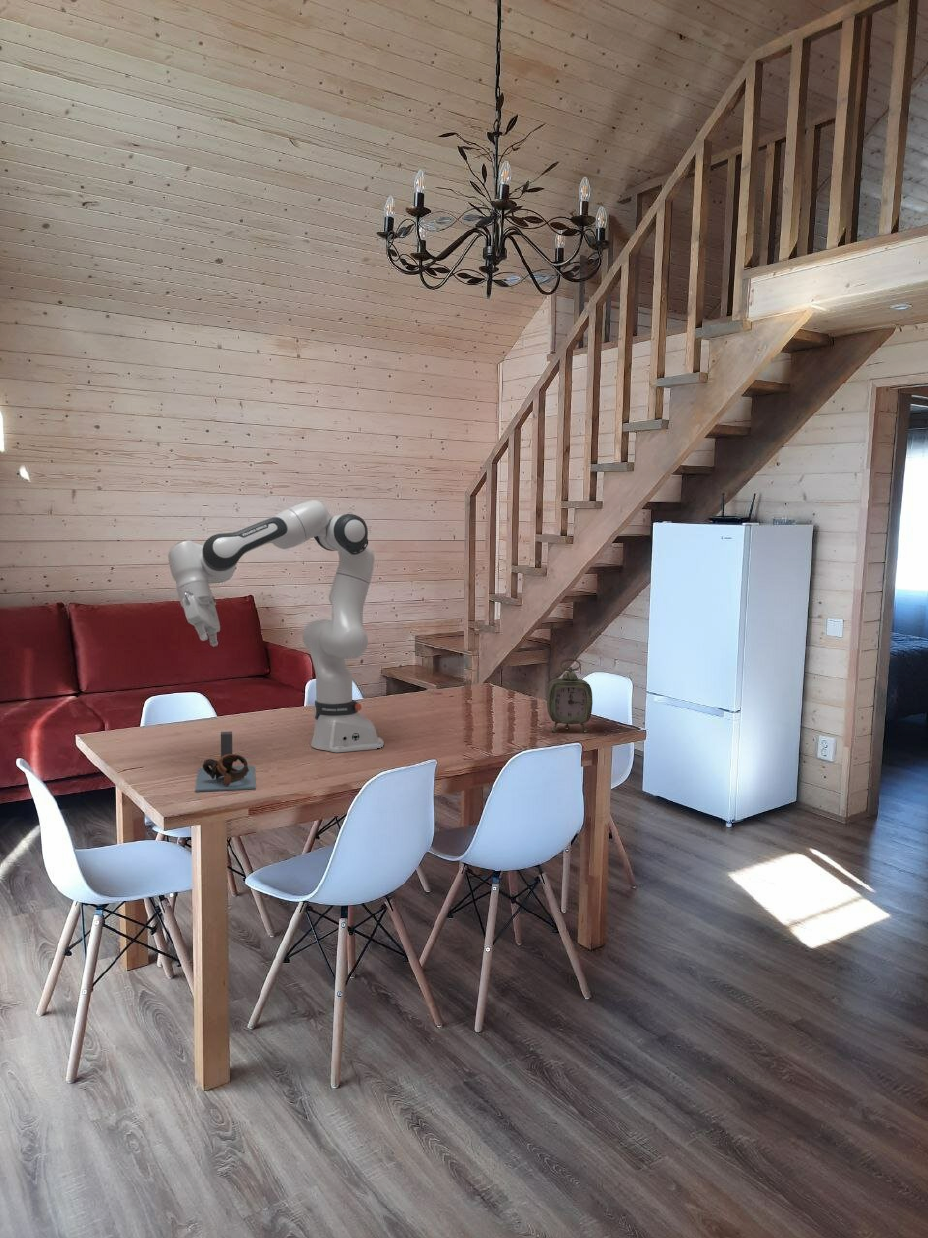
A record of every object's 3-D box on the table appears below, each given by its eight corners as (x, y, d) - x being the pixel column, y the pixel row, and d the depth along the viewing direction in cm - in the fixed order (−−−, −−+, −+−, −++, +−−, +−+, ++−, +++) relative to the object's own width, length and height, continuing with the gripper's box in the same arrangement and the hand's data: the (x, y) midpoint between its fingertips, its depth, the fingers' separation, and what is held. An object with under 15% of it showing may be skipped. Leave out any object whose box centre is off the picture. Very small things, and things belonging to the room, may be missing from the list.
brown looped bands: (247, 776, 244) (253, 754, 240) (241, 801, 236) (247, 778, 232) (202, 766, 242) (208, 744, 238) (195, 791, 234) (200, 768, 230)
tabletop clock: (548, 734, 301) (550, 660, 299) (545, 727, 310) (547, 656, 308) (591, 734, 302) (594, 660, 299) (586, 728, 311) (589, 656, 308)
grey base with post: (254, 767, 254) (254, 730, 253) (255, 789, 233) (255, 749, 232) (199, 769, 250) (198, 732, 249) (195, 792, 230) (194, 751, 229)
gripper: (194, 584, 242) (209, 632, 239) (216, 600, 262) (230, 644, 259) (172, 592, 241) (186, 640, 239) (196, 607, 261) (209, 652, 259)
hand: (209, 642), depth 249 cm, fingers open, 8 cm apart
